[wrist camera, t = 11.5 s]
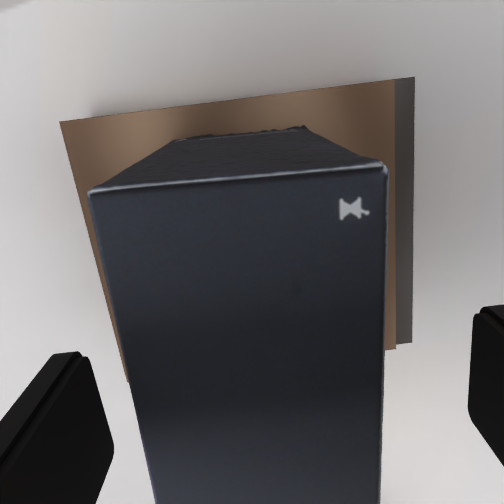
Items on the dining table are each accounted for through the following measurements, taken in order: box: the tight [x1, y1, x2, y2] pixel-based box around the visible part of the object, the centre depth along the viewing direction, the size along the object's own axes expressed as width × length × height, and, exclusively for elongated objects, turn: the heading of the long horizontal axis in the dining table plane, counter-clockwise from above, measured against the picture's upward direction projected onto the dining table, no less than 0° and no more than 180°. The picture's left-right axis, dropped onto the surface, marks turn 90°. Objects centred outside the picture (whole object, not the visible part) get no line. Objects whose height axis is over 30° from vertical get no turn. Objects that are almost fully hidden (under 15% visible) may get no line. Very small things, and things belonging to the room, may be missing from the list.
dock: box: [59, 77, 415, 382], centre depth 21 cm, size 15×13×4 cm
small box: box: [87, 125, 389, 504], centre depth 15 cm, size 11×6×10 cm, turn 5°
